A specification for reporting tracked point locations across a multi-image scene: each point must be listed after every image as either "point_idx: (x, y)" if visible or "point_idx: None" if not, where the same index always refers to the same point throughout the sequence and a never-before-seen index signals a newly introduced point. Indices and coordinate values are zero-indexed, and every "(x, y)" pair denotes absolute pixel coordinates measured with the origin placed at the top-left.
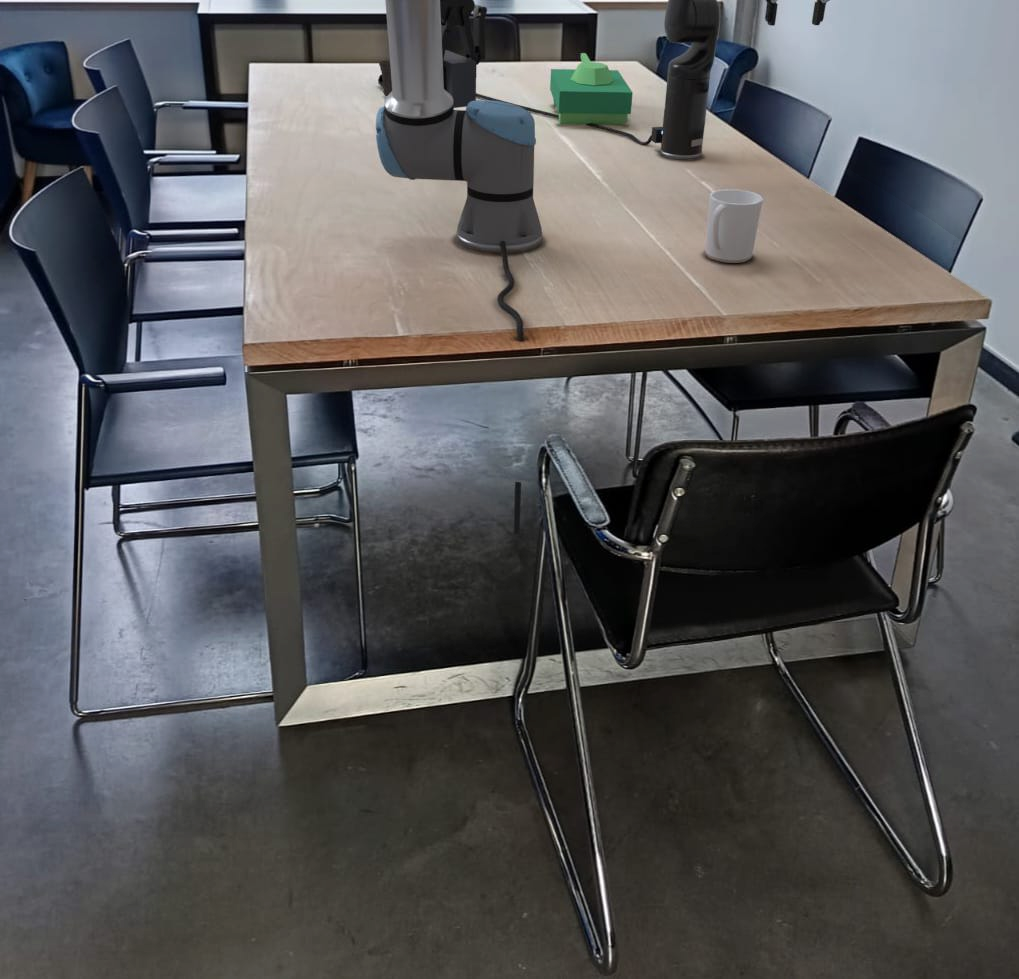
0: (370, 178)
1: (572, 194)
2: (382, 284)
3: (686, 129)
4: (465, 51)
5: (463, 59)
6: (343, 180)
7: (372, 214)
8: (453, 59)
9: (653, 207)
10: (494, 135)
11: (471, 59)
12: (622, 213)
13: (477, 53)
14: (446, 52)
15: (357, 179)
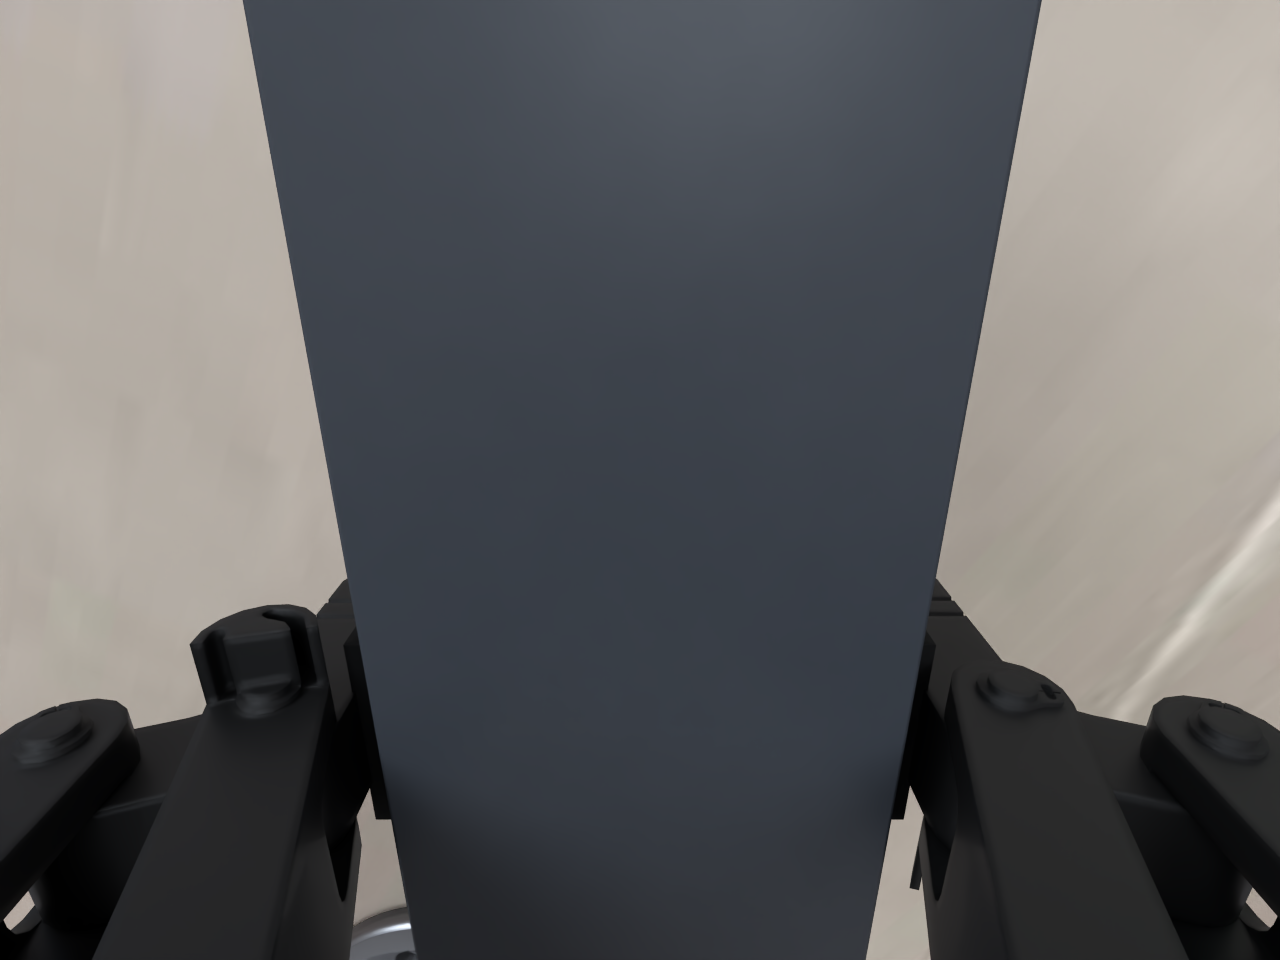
0: (214, 189)
1: None
2: None
3: None
4: (972, 834)
5: (752, 903)
6: (61, 157)
7: (122, 669)
8: (591, 851)
9: None
10: None
11: (923, 867)
12: (915, 951)
13: (1176, 854)
14: (841, 170)
15: (140, 174)
